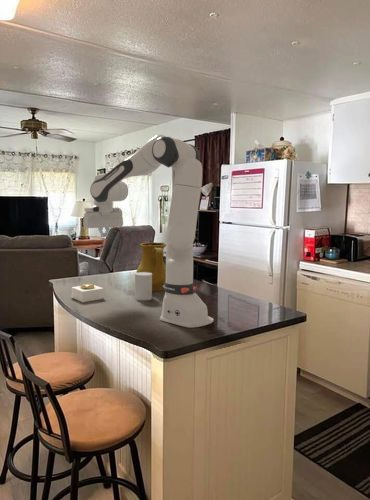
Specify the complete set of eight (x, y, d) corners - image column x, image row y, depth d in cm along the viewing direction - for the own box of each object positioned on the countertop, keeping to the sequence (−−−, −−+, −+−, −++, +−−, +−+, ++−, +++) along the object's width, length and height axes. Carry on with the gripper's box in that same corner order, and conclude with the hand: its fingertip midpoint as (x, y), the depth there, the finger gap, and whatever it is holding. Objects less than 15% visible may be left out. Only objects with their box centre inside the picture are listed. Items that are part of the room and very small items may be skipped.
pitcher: (171, 285, 219) (170, 240, 215) (166, 294, 201) (165, 246, 196) (140, 284, 221) (139, 240, 216) (133, 294, 202) (131, 246, 198)
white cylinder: (148, 300, 186) (149, 275, 184) (132, 299, 187) (132, 274, 186) (153, 296, 194) (154, 272, 192) (137, 295, 195) (138, 271, 194)
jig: (103, 298, 188) (103, 288, 187) (82, 302, 181) (82, 291, 180) (92, 294, 196) (92, 284, 195) (71, 297, 189) (71, 287, 188)
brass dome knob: (96, 297, 188) (96, 285, 187) (84, 299, 184) (84, 287, 183) (90, 294, 193) (90, 283, 192) (78, 296, 189) (78, 284, 188)
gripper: (118, 207, 199) (118, 235, 201) (81, 208, 186) (82, 237, 187) (125, 208, 194) (125, 236, 196) (87, 208, 181) (88, 238, 183)
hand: (104, 236), depth 192 cm, fingers closed
